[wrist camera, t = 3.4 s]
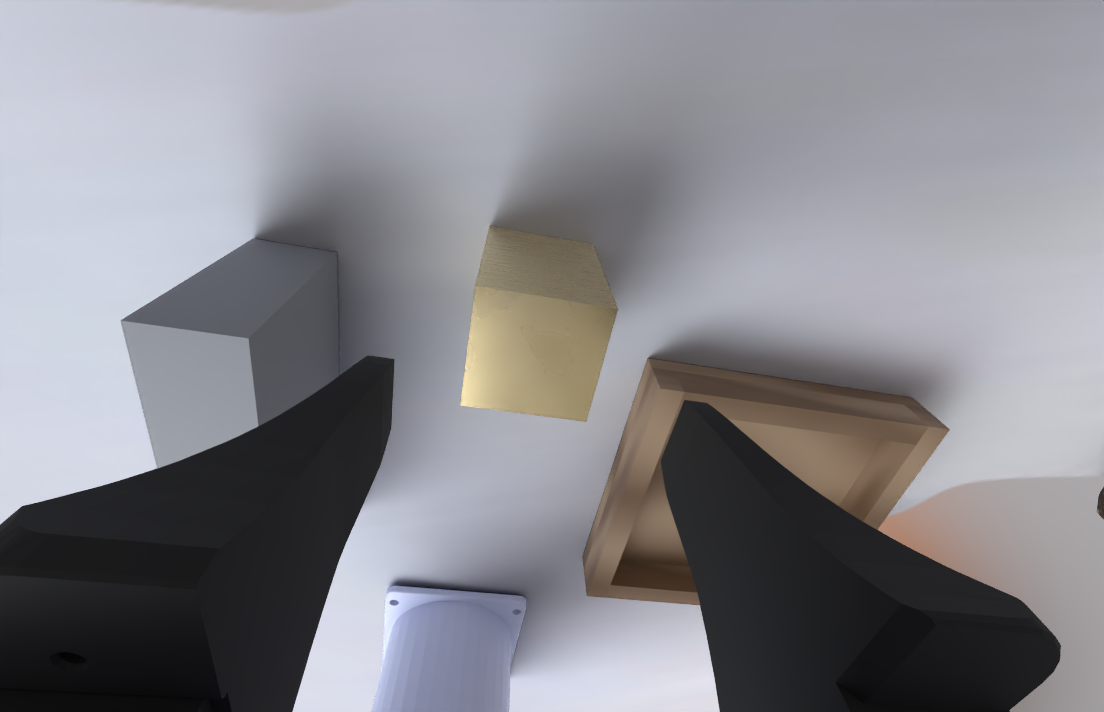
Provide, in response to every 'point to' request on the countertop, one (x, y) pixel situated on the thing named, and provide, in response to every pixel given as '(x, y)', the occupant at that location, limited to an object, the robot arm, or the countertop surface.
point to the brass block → (537, 326)
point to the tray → (779, 429)
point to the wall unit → (234, 345)
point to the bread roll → (1101, 504)
